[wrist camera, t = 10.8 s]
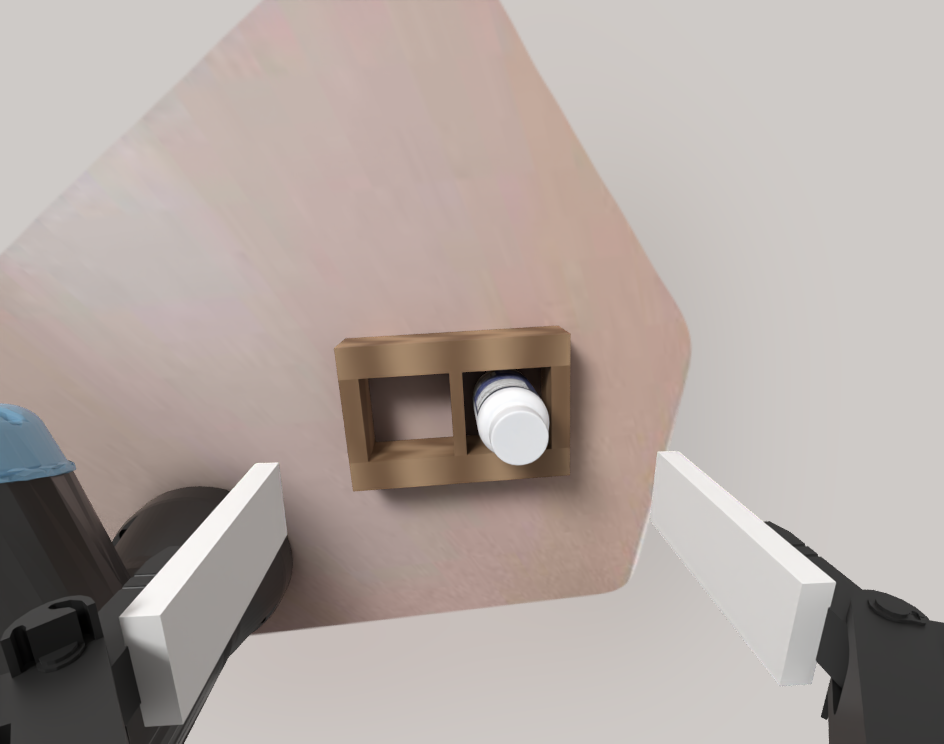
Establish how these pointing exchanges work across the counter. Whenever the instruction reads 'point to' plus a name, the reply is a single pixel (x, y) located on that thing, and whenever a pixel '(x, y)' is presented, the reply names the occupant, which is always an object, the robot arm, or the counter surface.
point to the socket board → (451, 355)
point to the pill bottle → (510, 416)
